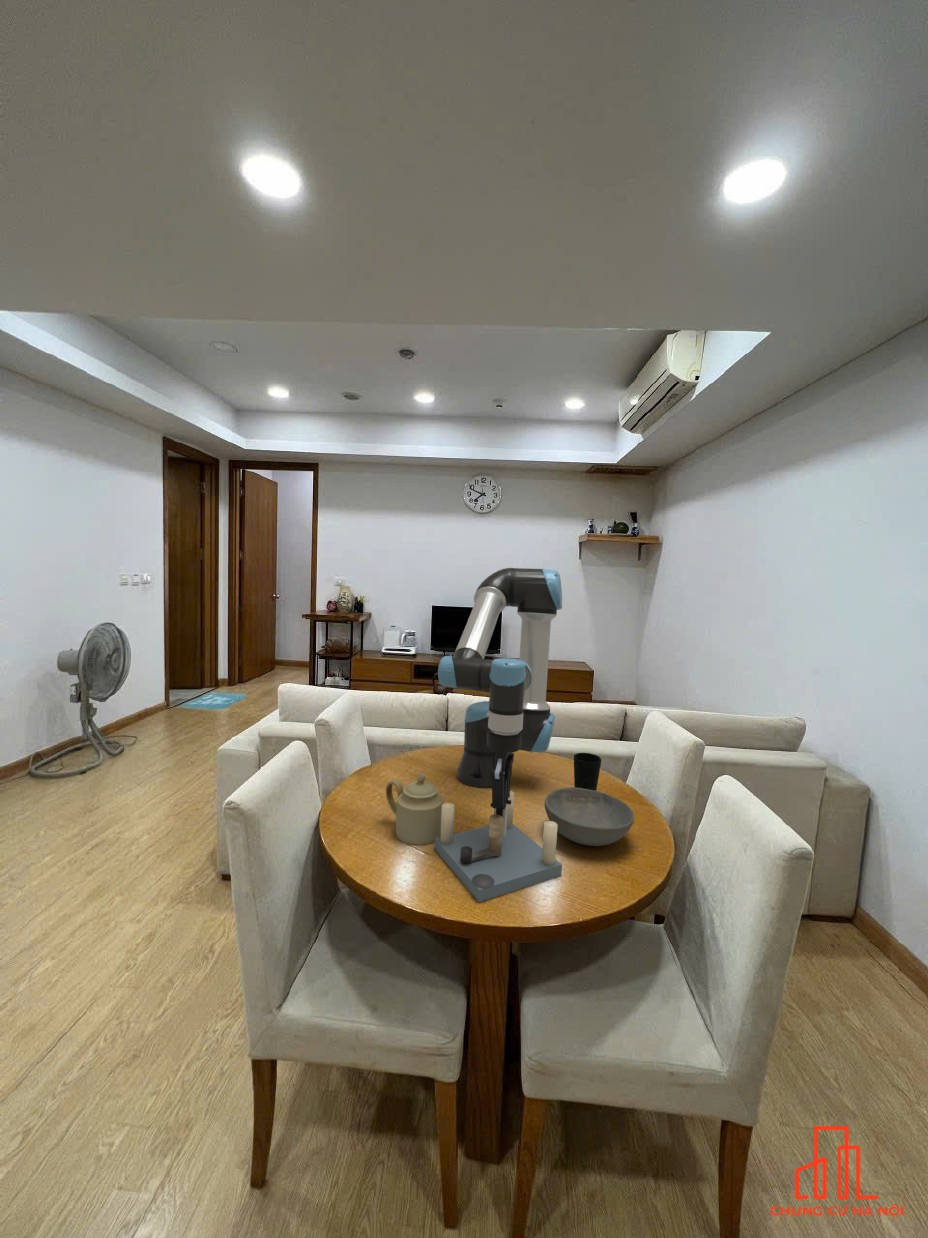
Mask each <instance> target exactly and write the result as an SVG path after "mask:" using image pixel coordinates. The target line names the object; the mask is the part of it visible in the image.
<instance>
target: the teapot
mask: <svg viewBox="0 0 928 1238" xmlns="http://www.w3.org/2000/svg"><path fill="white" fill-rule="evenodd" d="M425 780H426V775H425V774H424V772H419V773H418V774H417V777H416V781H411V782H410V783H409V784H407V785H405V786H404V787H403V784H402V782H401V781H400V780H398V779H392V780H390V781H389V782H388V783H387V784H386V787H385V795H386V801H387V803H388V805H389V808H390V809H391V810H392V812H393V814H394V815H395V835H396V837H397V839H398V840H399V841H401V842H403V843H406V844H408V845H413V846H424V845H429V844H432V843H435V838H439V837H441V814H442V804H444V798H443V796H442V795H441V794H440V793H439V788H438V787H437V786H436V785H434V784H433V783H431V782H429V781H425ZM393 786H394V787H395V789H396V794H397V798H396V800H395V798H394V794H393Z"/></svg>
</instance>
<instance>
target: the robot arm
mask: <svg viewBox="0 0 928 1238" xmlns="http://www.w3.org/2000/svg"><path fill="white" fill-rule="evenodd" d="M560 575H561V574H560V573H559V572H558V571H557V570H555V569H547V568H520V567H518V568H517V567H507V568H502V569H499V570H497V571H494V572H493V573H491V574H490V575H489V576H487V577H486V578H485V579H484V580H482V582H481V583H480V584H479V585H478V586H477V589H476V590H475V593H474V595H473V602H474V605H473V607H472V609H471V612H470V613H469V614H470V615H469V617H468V619H467V623H466V625H464V626H465V627H464V630H463V631H462V634H461V636H460V639H459V642H458V645H456V649H455V651H454V654H453V655H444V656H443V657H441V659H440V661H439V664H438V669H437V677H438V682H439V684H440V685H441V686H444V687H446V688H447V687H448V688H454V689H461V690H462V689H463V690H474V691H482V692H483V691H484V692H489V697H488V698H489V699H488V700H486V701H479V702H475V703H472V704H470V705H468V706H467V707H466V709H465V717H464V718H465V719H464V735H463V736H464V738H463V753H462V756H461V758H460V761H459V763H458V767H457V769H456V771H457V772H456V773H457V774H456V778H457V779H458V781H459V782H461V783H462V784H465V785H468V786H470V787H474V788H475V787H476V788H491V803H490V807H491V808H492V809H493V815H500V816H502V817H503V828H502V836H504V837H505V835H506V825H507V807H508V805H506V804H510V805H511V800H508V798H509V797H510V791H511V783H512V775H513V773H512V772H513V764H514V759H515V753H517V752H519V751H524V752H530V753H540V754H541V753H546V751H548V750H549V747H550V743H551V739H552V734H553V730H554V724H555V719H556V715H555V714H554V713H553V712H551V705H549V703H548V702H547V701H546V699H547V687H548V684H547V683H548V671H549V669H548V668H549V657H550V656H549V653H550V639H551V627H552V626H551V623H552V620H553V619H555V618H556V617H557V616H558V615H557V612H558V611H561V610H562V609H563V592H562V591H563V589H562V581H561V576H560ZM507 607H511V608H512V607H513V608H517V610H516V611H517V612H516V613H517V615H518V616H519V617H520V618H521V627H520V628H521V629H520V644H519V656H518V657H519V659H518V658H508V657H503V658H502V657H501V658H495V659H486V657H485V656H486V654H487V650H488V648H489V645H490V642H491V638H492V636H493V633H494V630H495V627H496V625H497V621H498V618H499V615H500V613H502V612H503V611H504V609H505V608H507Z"/></svg>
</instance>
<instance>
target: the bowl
mask: <svg viewBox="0 0 928 1238" xmlns="http://www.w3.org/2000/svg"><path fill="white" fill-rule="evenodd" d="M544 810H545V814H546V816H547V818H548V819H547V820H548V821H553V822H555V823H557V825H558V826H557V833H558V834H560V835H562V837H564V838H565V839H568V840H570V841H572V842H574V843H577V844H580V845H584V846H588V847H589V846H590V847H603V846H607V845H611V844H614V843H615V842H618V841H619V840H621V839H622V838H624V837H625V836H626V835H627V834H628V832H629V831H630V830H631V828H632V826H633V824H634V821H635V814H634V811H633V809H632V808H631V807H630V806H629V805H628V804H627V803H625V802H623V800H620V799H618V798H616V796H612V795H611V794H608V793H605V792H602V791H598V790H596V791H594V790H589V789H583V788H575V786H574V787H562V788H557V789H555V790H553V791H551V792H550V793H548V794H547V795H546V796H545V799H544Z"/></svg>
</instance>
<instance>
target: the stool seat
mask: <svg viewBox="0 0 928 1238" xmlns="http://www.w3.org/2000/svg"><path fill="white" fill-rule="evenodd" d="M508 800H511V805H510V804H506V805H508V807H507V825H506V835H505V837H504V836H502V848H501V855H500V856H491V857H487V858H484V859H480V860H476V861H473V862H471V863H469V864H464V863H462V862H461V861H460V855H461V848H462V847H464V846H468V847H471V848H472V852H476V851H479V850H483V849H487V848H488V845H489V825H486V826H481V827H476V828H473V829H470V830H464V831H460V832H457V833H454V824H455V822H454V821H455V804H453V803H451V802H443V804H442V814H441V836H440V837H439V838H435V841H434V846H433V847H434V851H435V852H436V853H437V854H438V855H439V857H441V859H442V861H444V863H445V864H446V865H447V866H448V867H449V869H450V870H451V871H452V872H453V873H454V875H455V876H456V877H457V879H459V881H460V882H461V883H462V884H463V886H465V888H466V889H467V890H468V891H469V893H470V894H471V895H472V897H474V898H475V900H476V901H477V902H478V903H482V902H484V901H487V900H491V899H493V898H497V897H501V896H503V895H506V894H509V893H513V892H516V891H519V890H521V889H525V888H528V887H531V886H534V885H537V884H539V883H543V882H546V881H550V880H552V879H556V878H558V877H561V876H562V873H563V872H562V871H563V870H562V869H563V864H562V863H561V862H560V861H559V860H558V859H556V855H557V852H556V851H557V842H558V841H557V840H558V831H557V826H558V825H557V823H555V822H553V821H549V820H546V821H544V822H543V832H542V833H543V834H542V836H543V837H542V847H541V846H540V844H538V843H537V842H536V841H534V840H533V839H532V838H531V837H529V835H527V834H526V833H524V832H523V831H522V830H521V829H520V828H519V827H517V826H516V825H515V824H514V823H513V822H514V806H515V805H514V803H515V792H514V791H512V790H510V797H509V798H508Z"/></svg>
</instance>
